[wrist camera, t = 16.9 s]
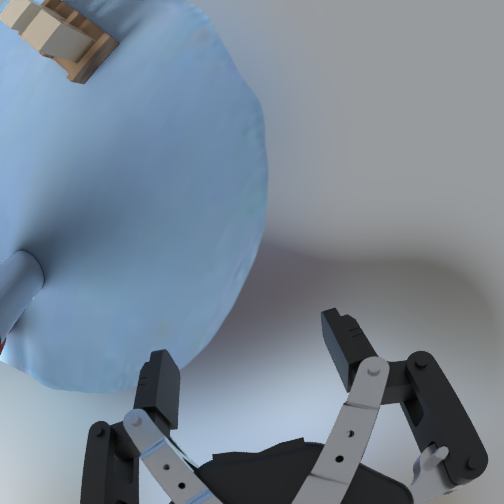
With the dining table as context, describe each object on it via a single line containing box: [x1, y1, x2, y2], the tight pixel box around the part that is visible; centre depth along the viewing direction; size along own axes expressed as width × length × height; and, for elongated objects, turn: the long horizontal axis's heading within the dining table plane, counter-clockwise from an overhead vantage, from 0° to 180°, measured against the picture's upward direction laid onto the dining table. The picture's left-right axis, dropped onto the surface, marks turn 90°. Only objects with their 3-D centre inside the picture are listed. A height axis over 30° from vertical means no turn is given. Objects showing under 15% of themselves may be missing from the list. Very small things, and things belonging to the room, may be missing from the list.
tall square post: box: [0, 0, 66, 32], centre depth 17 cm, size 4×5×12 cm
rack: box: [18, 0, 120, 84], centre depth 23 cm, size 8×18×4 cm, turn 43°
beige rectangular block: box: [21, 10, 96, 64], centre depth 20 cm, size 4×5×12 cm
